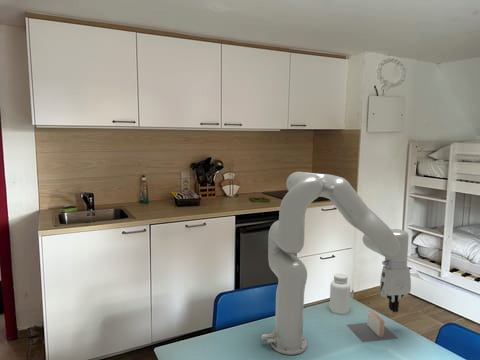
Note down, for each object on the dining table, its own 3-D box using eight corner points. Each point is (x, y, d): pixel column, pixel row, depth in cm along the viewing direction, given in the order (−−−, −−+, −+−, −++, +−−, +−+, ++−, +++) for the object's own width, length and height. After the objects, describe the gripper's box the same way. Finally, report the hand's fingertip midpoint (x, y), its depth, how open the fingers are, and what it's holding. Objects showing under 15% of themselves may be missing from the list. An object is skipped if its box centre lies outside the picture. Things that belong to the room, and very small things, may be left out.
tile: (378, 337, 133) (379, 321, 132) (367, 325, 141) (367, 310, 140) (383, 336, 134) (384, 320, 133) (371, 325, 141) (372, 310, 141)
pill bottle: (336, 303, 159) (338, 270, 157) (353, 311, 153) (355, 276, 151) (325, 309, 154) (326, 275, 152) (341, 317, 148) (343, 281, 146)
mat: (362, 343, 130) (362, 342, 130) (346, 325, 142) (346, 324, 141) (398, 339, 133) (398, 338, 133) (379, 322, 144) (379, 321, 144)
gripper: (383, 268, 130) (381, 317, 133) (420, 265, 133) (418, 313, 136) (371, 261, 137) (369, 307, 140) (407, 258, 140) (405, 303, 143)
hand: (393, 310), depth 138 cm, fingers closed
